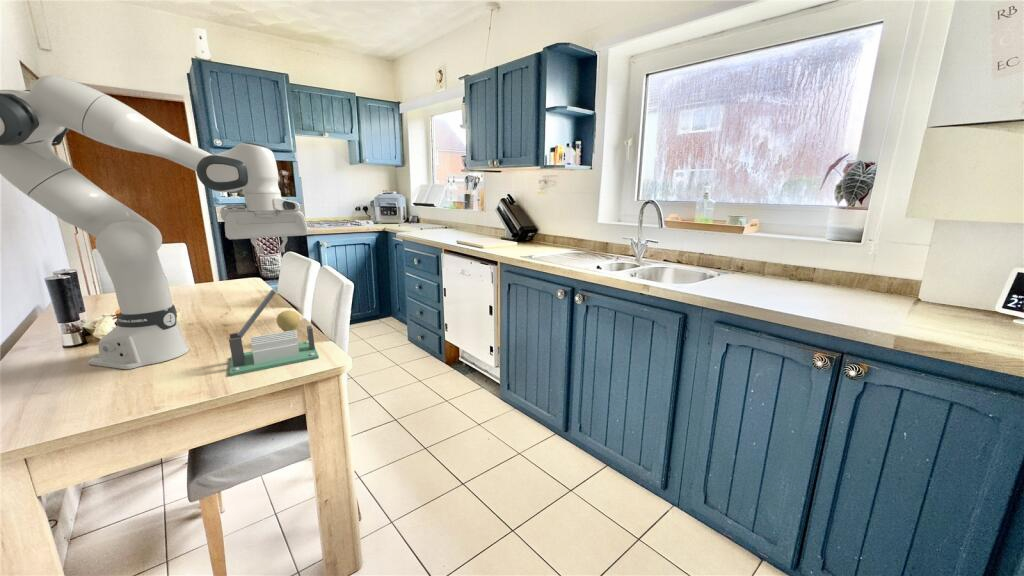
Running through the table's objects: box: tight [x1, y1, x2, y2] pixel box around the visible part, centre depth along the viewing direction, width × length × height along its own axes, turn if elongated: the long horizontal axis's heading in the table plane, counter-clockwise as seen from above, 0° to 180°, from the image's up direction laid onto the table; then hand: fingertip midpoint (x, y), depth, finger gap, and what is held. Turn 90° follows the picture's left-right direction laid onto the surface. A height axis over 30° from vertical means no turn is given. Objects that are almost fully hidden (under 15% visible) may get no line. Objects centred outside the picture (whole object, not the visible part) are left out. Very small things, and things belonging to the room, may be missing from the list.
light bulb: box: [276, 309, 301, 340], centre depth 127 cm, size 6×6×10 cm
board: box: [228, 325, 320, 377], centre depth 114 cm, size 21×14×8 cm, turn 123°
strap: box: [236, 288, 277, 340], centre depth 110 cm, size 17×3×1 cm
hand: (271, 252), depth 116 cm, fingers open, 4 cm apart
